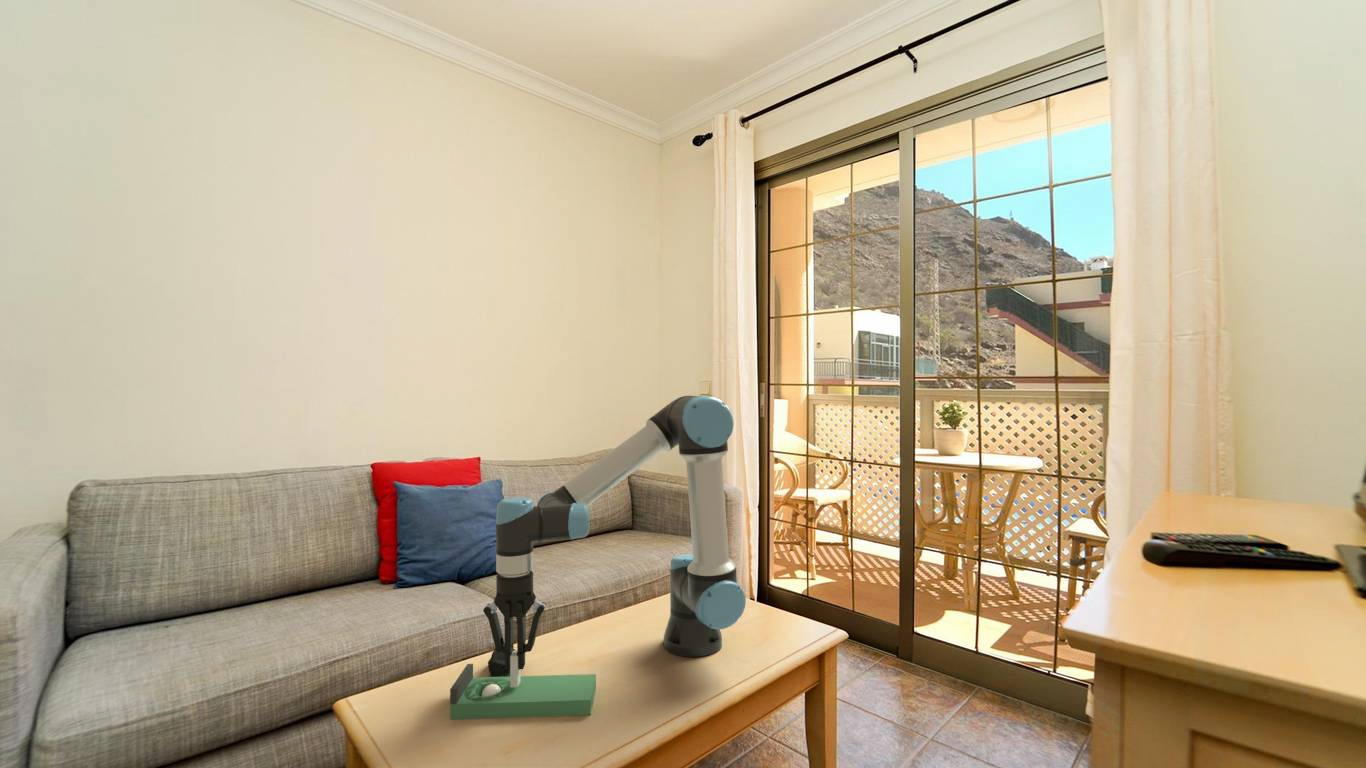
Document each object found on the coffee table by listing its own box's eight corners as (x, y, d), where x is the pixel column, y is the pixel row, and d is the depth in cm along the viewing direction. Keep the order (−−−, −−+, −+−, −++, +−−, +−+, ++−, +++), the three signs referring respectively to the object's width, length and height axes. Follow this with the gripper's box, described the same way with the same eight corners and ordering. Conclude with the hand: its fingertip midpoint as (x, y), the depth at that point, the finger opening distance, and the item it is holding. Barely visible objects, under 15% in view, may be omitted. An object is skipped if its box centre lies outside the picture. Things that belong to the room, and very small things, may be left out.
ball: (499, 679, 126) (480, 687, 125) (497, 682, 122) (478, 690, 121) (504, 698, 125) (485, 706, 124) (503, 701, 121) (483, 710, 120)
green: (595, 687, 130) (595, 660, 130) (590, 714, 119) (590, 685, 119) (467, 691, 128) (467, 663, 129) (450, 719, 117) (450, 689, 118)
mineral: (470, 676, 135) (471, 651, 136) (500, 661, 143) (501, 637, 143) (502, 687, 130) (502, 661, 131) (531, 671, 138) (531, 646, 138)
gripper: (549, 566, 128) (549, 674, 128) (488, 567, 127) (489, 676, 127) (542, 576, 121) (543, 692, 120) (478, 578, 120) (478, 694, 120)
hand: (515, 684), depth 124 cm, fingers closed
